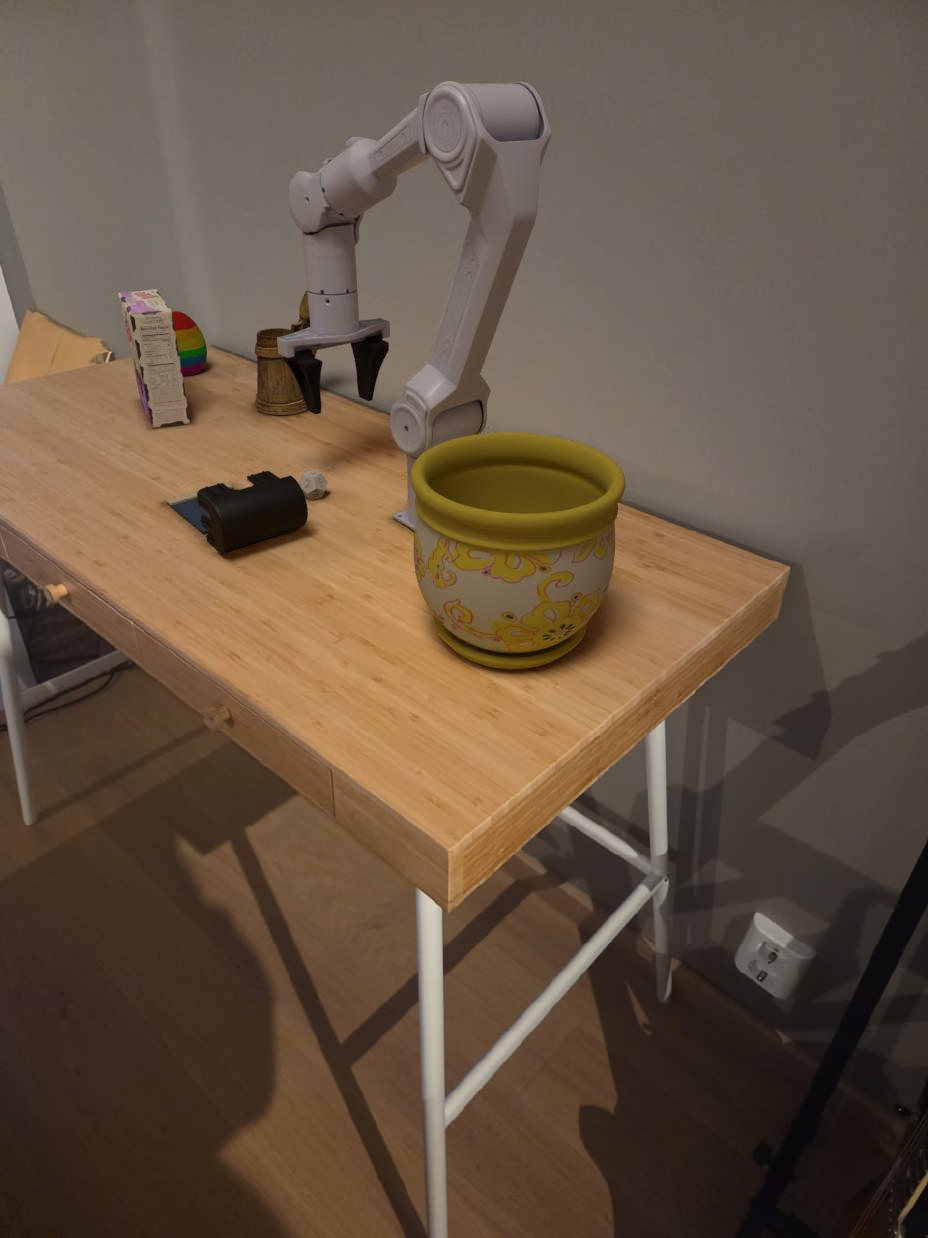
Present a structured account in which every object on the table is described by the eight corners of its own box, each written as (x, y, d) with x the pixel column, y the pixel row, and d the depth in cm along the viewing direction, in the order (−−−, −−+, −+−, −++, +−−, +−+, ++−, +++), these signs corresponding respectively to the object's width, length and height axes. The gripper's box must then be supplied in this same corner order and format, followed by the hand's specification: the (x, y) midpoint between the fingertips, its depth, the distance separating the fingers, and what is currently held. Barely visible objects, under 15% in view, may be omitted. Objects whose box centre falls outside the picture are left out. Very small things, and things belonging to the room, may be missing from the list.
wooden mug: (349, 402, 131) (341, 282, 121) (270, 419, 125) (255, 293, 115) (322, 387, 137) (313, 272, 127) (246, 403, 130) (229, 282, 121)
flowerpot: (641, 628, 79) (667, 468, 70) (524, 718, 68) (537, 541, 59) (497, 564, 89) (503, 416, 80) (374, 633, 78) (365, 471, 69)
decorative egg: (197, 361, 148) (187, 303, 143) (218, 372, 143) (209, 312, 138) (153, 370, 144) (141, 310, 138) (173, 381, 139) (161, 320, 133)
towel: (266, 514, 98) (266, 509, 98) (203, 534, 94) (202, 529, 94) (228, 487, 105) (227, 481, 104) (167, 504, 100) (166, 499, 100)
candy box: (139, 400, 131) (116, 290, 122) (177, 395, 133) (158, 287, 124) (151, 429, 121) (127, 311, 112) (192, 423, 123) (172, 308, 114)
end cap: (229, 566, 88) (219, 509, 84) (201, 541, 93) (190, 485, 89) (311, 539, 93) (306, 484, 89) (281, 516, 98) (274, 463, 94)
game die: (293, 495, 103) (290, 472, 101) (319, 487, 105) (317, 465, 103) (308, 505, 101) (306, 482, 99) (334, 496, 103) (332, 474, 101)
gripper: (364, 275, 102) (369, 385, 109) (258, 291, 94) (272, 408, 101) (399, 285, 97) (402, 399, 105) (291, 303, 89) (302, 425, 97)
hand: (340, 405), depth 103 cm, fingers open, 7 cm apart
